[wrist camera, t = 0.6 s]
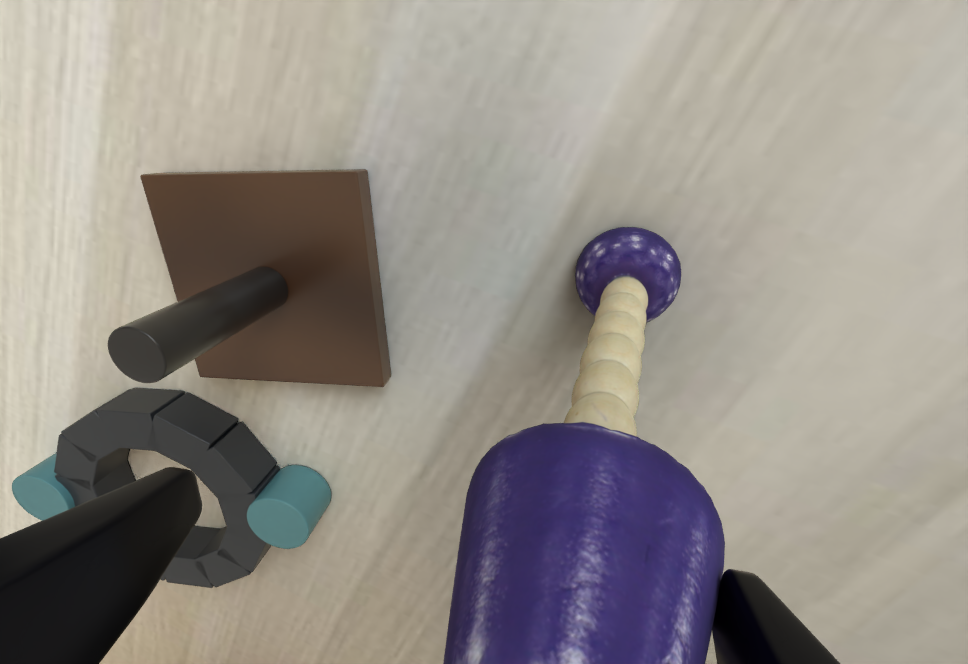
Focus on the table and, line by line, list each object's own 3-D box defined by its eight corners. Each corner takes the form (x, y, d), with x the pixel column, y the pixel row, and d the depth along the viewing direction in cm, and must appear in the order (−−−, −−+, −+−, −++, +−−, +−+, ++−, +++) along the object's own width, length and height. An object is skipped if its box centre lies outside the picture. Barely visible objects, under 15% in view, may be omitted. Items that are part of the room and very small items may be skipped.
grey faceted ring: (346, 569, 30) (326, 609, 27) (95, 540, 33) (55, 574, 30) (313, 398, 25) (285, 428, 22) (19, 380, 28) (-36, 405, 25)
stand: (391, 376, 24) (310, 493, 16) (215, 367, 25) (61, 470, 17) (367, 169, 20) (244, 190, 12) (160, 172, 21) (-71, 193, 13)
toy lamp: (546, 265, 20) (323, 697, 7) (627, 185, 18) (533, 634, 4) (623, 336, 21) (562, 869, 7) (713, 270, 18) (884, 911, 5)
